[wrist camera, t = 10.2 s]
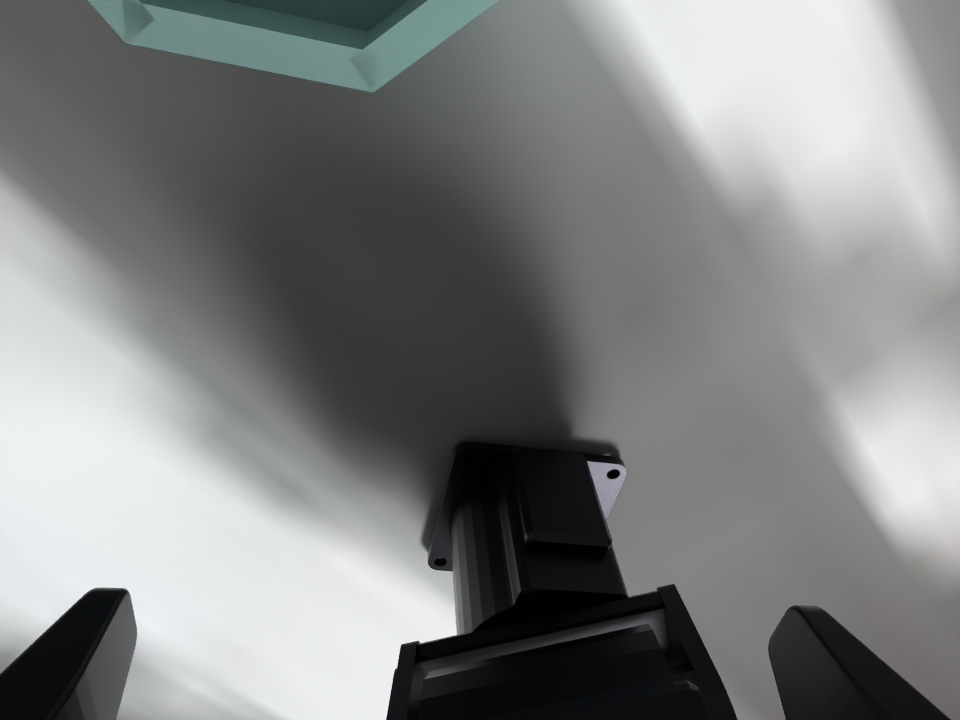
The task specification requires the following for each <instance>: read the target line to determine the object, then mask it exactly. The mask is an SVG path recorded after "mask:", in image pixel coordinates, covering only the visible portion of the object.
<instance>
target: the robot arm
mask: <svg viewBox="0 0 960 720" xmlns="http://www.w3.org/2000/svg"><path fill="white" fill-rule="evenodd" d="M467 454H470V455H473V456H471V457H463V456H464V455H467ZM612 469H616V470H614V471H612V472H608V471H610V470H612ZM626 473H627V471H626V468H625V466H624V463H623V461H622V460H621V459H620V458H617V457H611V456H602V455H592V454H583V453H573V452H564V451H554V450H545V449H535V448H526V447H517V446H507V445H498V444H488V443H479V442H463V443H460V444H459V445H457V446H456V447H455V449H454V451H453V455H452V459H451V463H450V467H449V471H448V475H447V479H446V483H445V487H444V491H443V495H442V499H441V503H440V507H439V511H438V515H437V519H436V523H435V527H434V531H433V535H432V539H431V543H430V547H429V551H428V565H429V566H430V567H431V568H432V569H435V570H442V571H453V582H454V597H455V612H456V627H457V635H456V636H451V637H447V638H442V639H438V640H433V641H429V642H424V643H420V642H419V641H415V642H411V643H406V644H402V645H401V649H400V655H399V660H398V666H397V669H395V672H394V677H393V683H392V689H391V695H390V701H389V707H388V713H387V719H386V720H737V717H736V714H735V712H734V709H733V706H732V704H731V701H730V699H729V696H728V694H727V691H726V689H725V687H724V685H723V683H722V680H721V678H720V676H719V674H718V672H717V670H716V668H715V666H714V664H713V662H712V660H711V658H710V656H709V654H708V652H707V650H706V648H705V646H704V644H703V642H702V639H701V637H700V635H699V633H698V631H697V629H696V627H695V625H694V623H693V621H692V619H691V617H690V615H689V613H688V611H687V609H686V607H685V605H684V603H683V601H682V599H681V597H680V595H679V593H678V591H677V589H676V587H675V585H674V584H671V585H667V586H662V587H658V588H657V591H654V592H649V593H645V594H640V595H636V596H631V597H628V594H627V591H626V588H625V584H624V581H623V578H622V575H621V572H620V569H619V565H618V562H617V559H616V556H615V553H614V550H613V547H612V538H611V535H610V532H609V529H608V526H607V522H606V519H607V517H608V515H609V513H610V510H611V508H612V506H613V504H614V501H615V499H616V497H617V495H618V492H619V490H620V488H621V486H622V483H623V481H624V479H625V477H626ZM136 640H137V626H136V621H135V616H134V611H133V606H132V601H131V596H130V593H129V592H128V591H127V590H126V589H124V588H94V589H92V590H90V591H88V592H87V593H86V594H85V595H84V596H83V597H82V598H80V599H79V600H78V601H77V602H76V603H75V604H74V605H73V606H72V607H71V608H70V609H69V610H68V611H67V612H66V613H65V614H63V615H62V616H61V617H60V618H59V619H58V620H57V621H56V622H55V623H54V624H53V625H52V626H51V627H50V628H49V629H47V630H46V631H45V632H44V633H43V634H42V635H41V636H40V637H39V638H38V639H37V640H36V641H35V642H34V643H33V644H32V645H30V646H29V647H28V648H27V649H26V650H25V651H24V652H23V653H22V654H21V655H20V656H19V657H18V658H17V659H16V660H15V661H13V662H12V663H11V664H10V665H9V666H8V667H7V668H6V669H5V670H4V671H3V672H2V673H1V674H0V720H116V717H117V714H118V710H119V706H120V702H121V699H122V695H123V691H124V687H125V684H126V680H127V676H128V672H129V669H130V665H131V661H132V657H133V654H134V650H135V646H136ZM768 651H769V658H770V662H771V665H772V669H773V673H774V676H775V680H776V684H777V688H778V691H779V695H780V699H781V702H782V706H783V710H784V713H785V717H786V720H951V719H950V718H948V717H947V716H946V715H945V714H944V713H943V712H942V711H940V710H939V709H938V708H937V707H936V706H935V705H933V704H932V703H931V702H930V701H929V700H928V699H927V698H925V697H924V696H923V695H922V694H921V693H920V692H919V691H917V690H916V689H915V688H914V687H913V686H912V685H910V684H909V683H908V682H907V681H906V680H905V679H904V678H902V677H901V676H900V675H899V674H898V673H897V672H895V671H894V670H893V669H892V668H891V667H890V666H889V665H887V664H886V663H885V662H884V661H883V660H882V659H881V658H879V657H878V656H877V655H876V654H875V653H874V652H872V651H871V650H870V649H869V648H868V647H867V646H866V645H864V644H863V643H862V642H861V641H860V640H859V639H857V638H856V637H855V636H854V635H853V634H852V633H851V632H849V631H848V630H847V629H846V628H845V627H844V626H843V625H841V624H840V623H839V622H838V621H837V620H836V619H834V618H833V617H832V616H831V615H830V614H829V613H828V612H826V611H825V610H824V609H822V608H820V607H817V606H799V605H795V606H792V607H790V608H789V609H788V610H787V611H786V613H785V614H784V616H783V618H782V619H781V621H780V622H779V624H778V626H777V627H776V629H775V631H774V632H773V634H772V636H771V637H770V640H769V646H768Z"/></svg>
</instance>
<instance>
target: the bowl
mask: <svg viewBox="0 0 960 720" xmlns="http://www.w3.org/2000/svg"><path fill="white" fill-rule="evenodd" d="M88 1H89V2H90V3H91V5H92V6H93V7H94V8H95V9H96V10H97V11H98V12H99V14H100V15H101V16H102V17H103V18H104V19H105V20H106V21H107V23H108V24H109V25H110V26H111V27H112V28H113V29H114V30H115V32H116V33H117V34H118V35H119V36H120V37H121V38H122V39H123V40H124V42H125V43H126V44H132V45H137V46H142V47H147V48H152V49H157V50H162V51H167V52H172V53H177V54H182V55H187V56H192V57H197V58H202V59H207V60H212V61H217V62H222V63H227V64H232V65H237V66H242V67H247V68H252V69H257V70H263V71H268V72H273V73H278V74H283V75H288V76H293V77H298V78H303V79H308V80H313V81H318V82H323V83H328V84H333V85H338V86H343V87H348V88H353V89H358V90H363V91H368V92H373V93H374V92H375V91H377V90H378V89H379V88H381V87H382V86H383V85H385V84H386V83H387V82H389V81H390V80H391V79H393V78H394V77H396V76H397V75H398V74H400V73H401V72H402V71H404V70H405V69H406V68H408V67H409V66H411V65H412V64H413V63H415V62H416V61H417V60H419V59H420V58H421V57H423V56H424V55H425V54H427V53H428V52H430V51H431V50H432V49H434V48H435V47H436V46H438V45H439V44H440V43H442V42H443V41H445V40H446V39H447V38H449V37H450V36H451V35H453V34H454V33H455V32H457V31H458V30H459V29H461V28H462V27H464V26H465V25H466V24H468V23H469V22H470V21H472V20H473V19H474V18H476V17H477V16H478V15H480V14H481V13H483V12H484V11H485V10H487V9H488V8H489V7H491V6H492V5H493V4H495V3H496V2H498V1H499V0H88Z"/></svg>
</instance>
